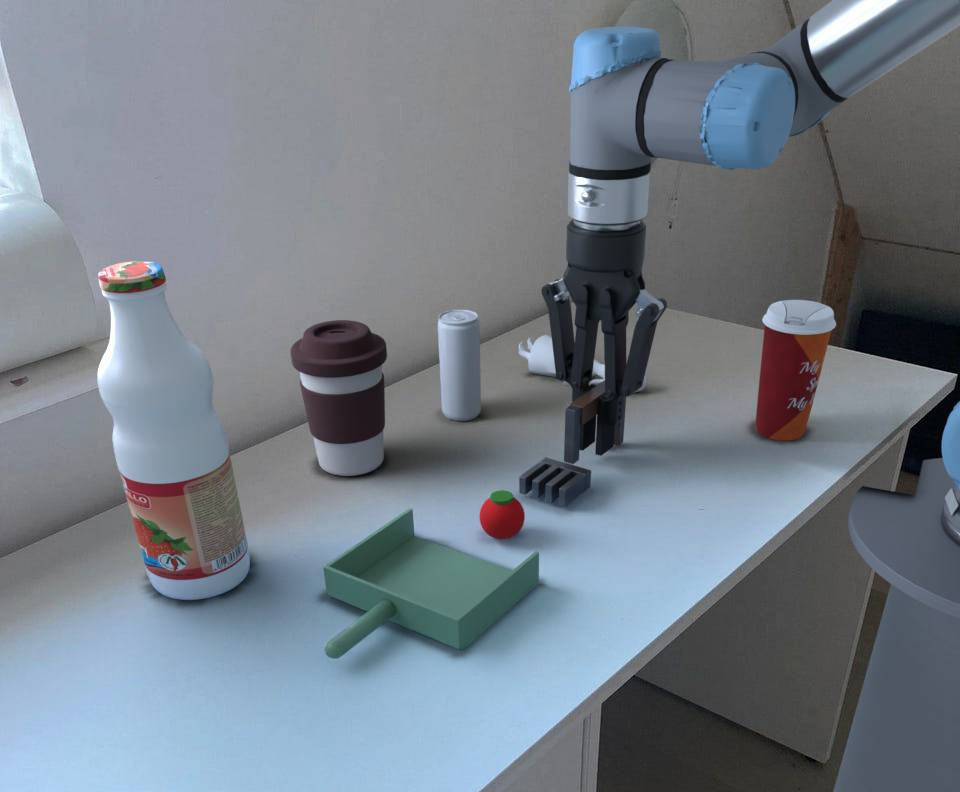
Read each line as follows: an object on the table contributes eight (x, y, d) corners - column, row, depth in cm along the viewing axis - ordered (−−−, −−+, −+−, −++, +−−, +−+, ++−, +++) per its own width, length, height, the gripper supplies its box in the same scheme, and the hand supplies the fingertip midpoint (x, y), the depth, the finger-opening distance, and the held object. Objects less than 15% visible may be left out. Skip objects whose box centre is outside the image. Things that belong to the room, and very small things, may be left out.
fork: (597, 435, 112) (600, 368, 108) (640, 446, 110) (646, 378, 105) (519, 493, 102) (518, 422, 97) (565, 507, 99) (567, 435, 94)
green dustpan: (411, 537, 96) (409, 507, 94) (538, 582, 89) (539, 552, 87) (265, 641, 83) (259, 609, 81) (401, 704, 76) (398, 671, 74)
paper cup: (807, 449, 109) (832, 325, 101) (739, 438, 112) (757, 316, 103) (819, 421, 115) (843, 302, 106) (754, 411, 118) (772, 294, 109)
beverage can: (472, 403, 122) (469, 306, 114) (487, 418, 118) (485, 319, 111) (436, 410, 120) (431, 312, 113) (450, 425, 117) (446, 326, 109)
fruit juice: (261, 588, 90) (202, 277, 73) (157, 612, 87) (70, 296, 70) (241, 539, 97) (182, 245, 80) (144, 561, 94) (61, 261, 77)
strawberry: (533, 532, 97) (533, 492, 94) (508, 552, 94) (508, 511, 91) (496, 520, 99) (495, 480, 96) (471, 539, 96) (469, 499, 93)
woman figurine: (547, 318, 132) (668, 352, 124) (545, 350, 135) (663, 385, 127) (500, 345, 124) (626, 383, 117) (498, 378, 127) (621, 417, 120)
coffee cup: (363, 491, 104) (348, 354, 95) (289, 472, 108) (267, 338, 99) (412, 453, 111) (403, 322, 102) (341, 436, 115) (326, 309, 106)
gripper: (520, 219, 94) (520, 444, 108) (658, 240, 87) (639, 478, 101) (561, 202, 98) (555, 420, 113) (695, 221, 91) (671, 450, 106)
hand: (595, 447), depth 107 cm, fingers closed on fork, 2 cm apart
